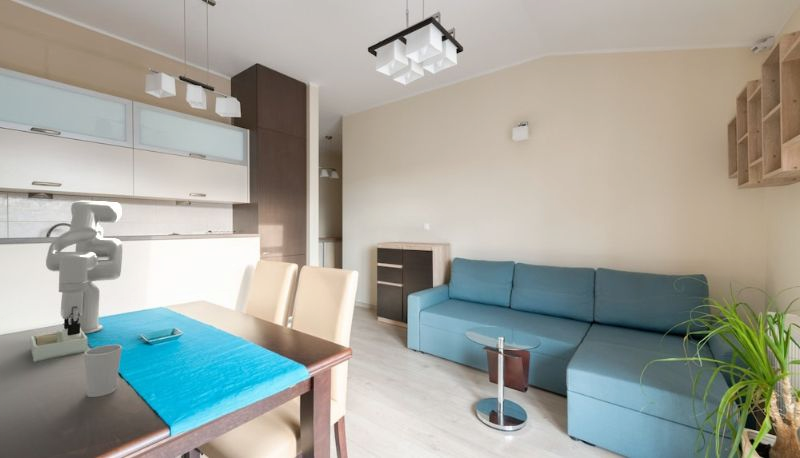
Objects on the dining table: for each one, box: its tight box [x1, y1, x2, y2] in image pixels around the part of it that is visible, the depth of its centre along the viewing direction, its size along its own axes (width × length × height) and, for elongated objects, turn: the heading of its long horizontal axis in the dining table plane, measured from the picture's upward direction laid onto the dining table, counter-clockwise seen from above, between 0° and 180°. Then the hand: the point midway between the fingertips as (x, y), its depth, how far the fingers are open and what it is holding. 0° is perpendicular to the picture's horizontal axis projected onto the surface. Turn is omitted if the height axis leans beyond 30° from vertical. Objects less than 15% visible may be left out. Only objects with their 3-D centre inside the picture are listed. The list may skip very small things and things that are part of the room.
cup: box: [83, 344, 123, 398], centre depth 92 cm, size 8×8×12 cm
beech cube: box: [35, 331, 57, 346], centre depth 120 cm, size 5×5×5 cm
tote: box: [30, 330, 89, 363], centre depth 120 cm, size 17×13×5 cm
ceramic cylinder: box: [61, 328, 81, 342], centre depth 121 cm, size 5×5×7 cm
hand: (71, 331), depth 122 cm, fingers open, 9 cm apart
